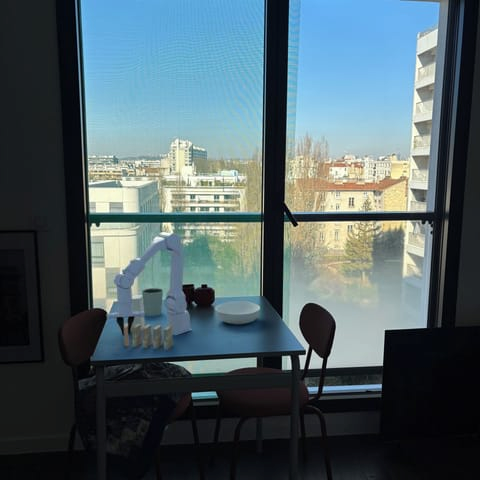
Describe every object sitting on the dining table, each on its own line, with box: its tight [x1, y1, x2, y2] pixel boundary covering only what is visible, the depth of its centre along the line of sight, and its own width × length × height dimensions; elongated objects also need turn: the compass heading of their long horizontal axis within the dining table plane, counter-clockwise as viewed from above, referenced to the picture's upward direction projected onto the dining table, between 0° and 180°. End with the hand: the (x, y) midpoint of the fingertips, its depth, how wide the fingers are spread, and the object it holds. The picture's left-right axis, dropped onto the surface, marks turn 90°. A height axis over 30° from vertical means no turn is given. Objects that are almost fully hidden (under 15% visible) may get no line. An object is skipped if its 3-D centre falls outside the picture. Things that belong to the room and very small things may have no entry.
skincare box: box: [131, 294, 146, 332], centre depth 207 cm, size 8×6×15 cm
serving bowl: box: [215, 301, 261, 325], centre depth 216 cm, size 21×21×7 cm
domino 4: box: [163, 325, 174, 350], centre depth 185 cm, size 2×5×8 cm, turn 167°
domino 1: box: [131, 324, 143, 348], centre depth 188 cm, size 2×5×8 cm, turn 167°
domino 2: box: [141, 324, 153, 349], centre depth 187 cm, size 2×5×8 cm, turn 167°
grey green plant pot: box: [141, 287, 164, 317], centre depth 230 cm, size 10×10×12 cm
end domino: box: [123, 323, 130, 348], centre depth 189 cm, size 2×5×8 cm, turn 12°
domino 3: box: [152, 324, 163, 350], centre depth 186 cm, size 2×5×8 cm, turn 167°
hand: (126, 334), depth 189 cm, fingers closed on end domino, 2 cm apart
